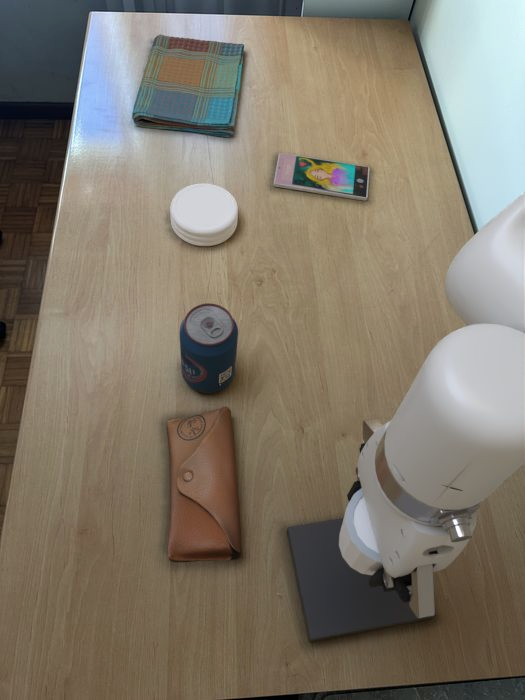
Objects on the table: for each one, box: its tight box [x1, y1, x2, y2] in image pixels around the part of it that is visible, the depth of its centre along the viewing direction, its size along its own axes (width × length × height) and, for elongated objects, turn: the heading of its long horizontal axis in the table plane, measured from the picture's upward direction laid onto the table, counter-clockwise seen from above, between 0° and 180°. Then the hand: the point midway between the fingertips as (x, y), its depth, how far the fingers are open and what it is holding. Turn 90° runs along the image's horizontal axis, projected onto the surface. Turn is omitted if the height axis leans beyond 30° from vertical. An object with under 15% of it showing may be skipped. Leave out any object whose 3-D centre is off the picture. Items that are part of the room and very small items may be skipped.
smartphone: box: [272, 152, 370, 202], centre depth 106 cm, size 7×1×15 cm
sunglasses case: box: [166, 406, 243, 563], centre depth 78 cm, size 18×7×7 cm
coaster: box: [169, 182, 239, 247], centre depth 99 cm, size 10×10×4 cm
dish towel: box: [131, 34, 245, 138], centre depth 115 cm, size 17×23×2 cm
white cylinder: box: [339, 488, 384, 575], centre depth 58 cm, size 7×7×7 cm
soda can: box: [179, 302, 239, 394], centre depth 82 cm, size 7×7×12 cm
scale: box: [286, 517, 437, 643], centre depth 74 cm, size 14×12×4 cm
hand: (374, 537), depth 59 cm, fingers closed on white cylinder, 6 cm apart
